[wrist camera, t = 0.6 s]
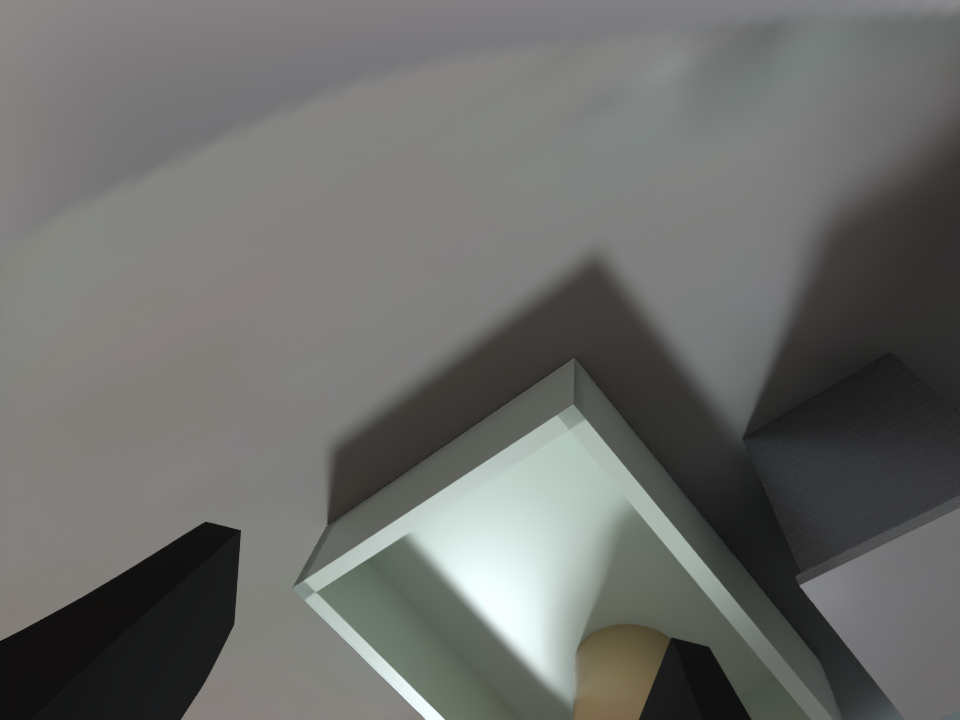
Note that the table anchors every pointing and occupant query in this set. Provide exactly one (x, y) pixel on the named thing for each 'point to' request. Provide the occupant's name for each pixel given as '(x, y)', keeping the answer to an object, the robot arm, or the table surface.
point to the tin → (876, 525)
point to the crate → (545, 569)
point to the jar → (616, 672)
